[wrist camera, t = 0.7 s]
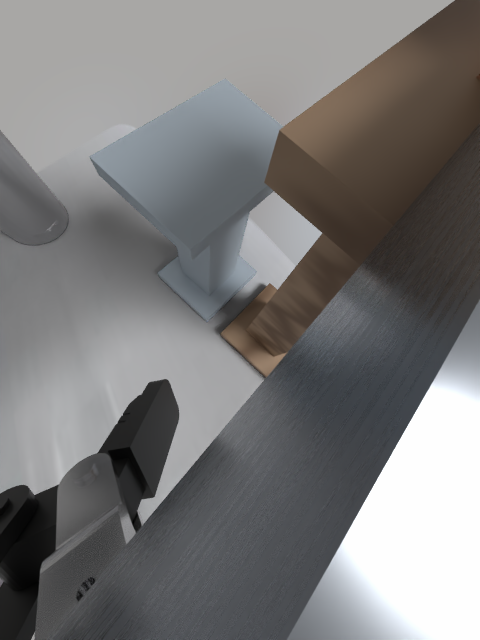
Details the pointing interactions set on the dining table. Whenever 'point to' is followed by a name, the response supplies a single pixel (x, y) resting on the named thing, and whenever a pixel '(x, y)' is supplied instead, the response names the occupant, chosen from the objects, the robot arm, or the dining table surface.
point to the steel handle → (335, 467)
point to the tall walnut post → (364, 168)
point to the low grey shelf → (198, 187)
